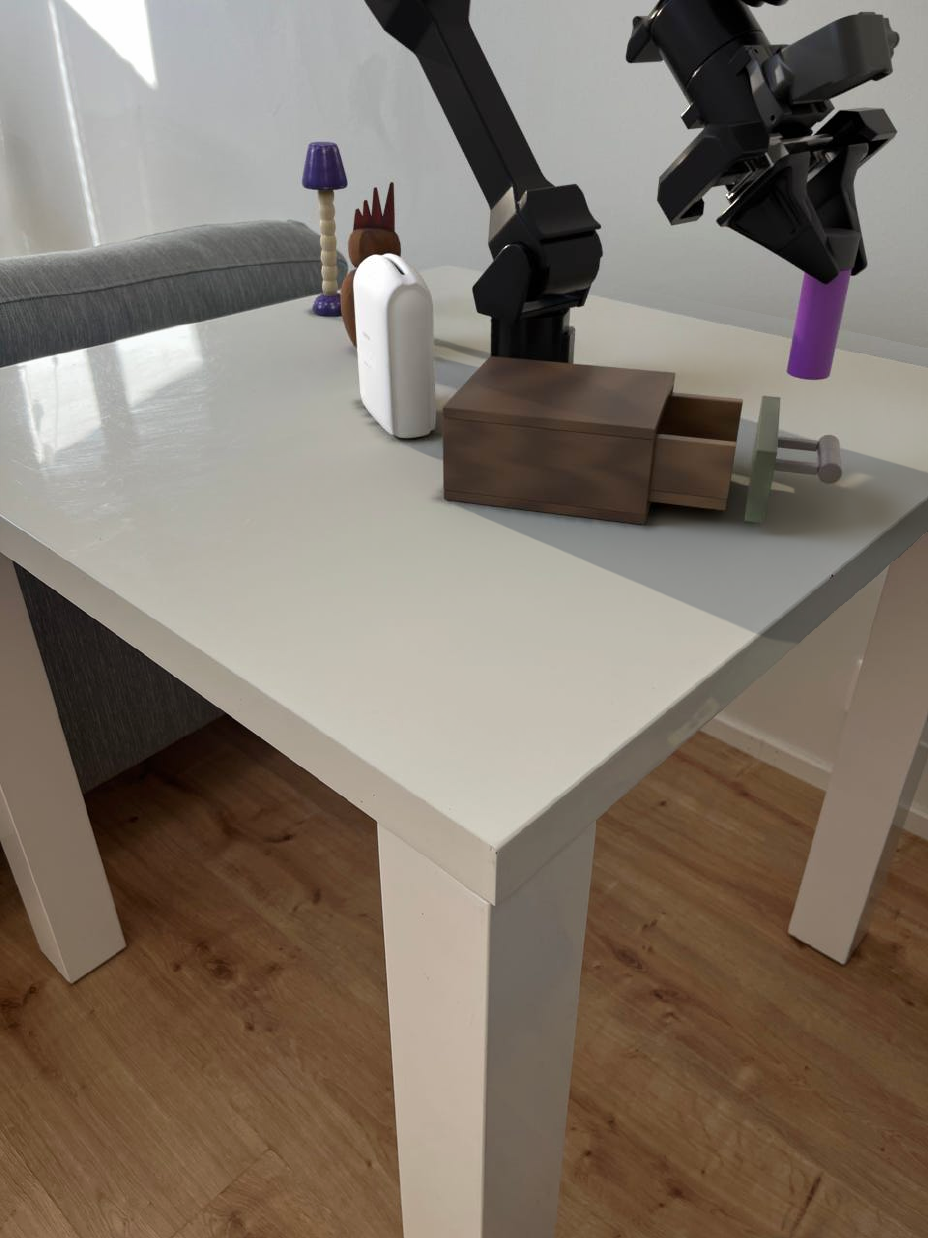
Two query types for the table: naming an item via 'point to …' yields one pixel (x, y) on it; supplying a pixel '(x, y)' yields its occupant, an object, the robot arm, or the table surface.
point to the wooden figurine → (368, 248)
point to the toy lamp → (326, 216)
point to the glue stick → (822, 312)
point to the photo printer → (395, 345)
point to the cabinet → (555, 438)
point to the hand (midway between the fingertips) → (846, 275)
